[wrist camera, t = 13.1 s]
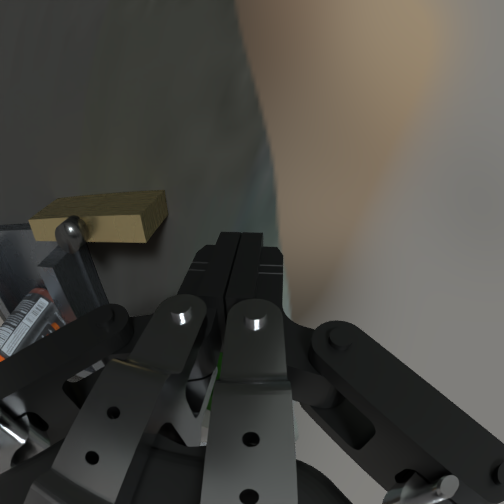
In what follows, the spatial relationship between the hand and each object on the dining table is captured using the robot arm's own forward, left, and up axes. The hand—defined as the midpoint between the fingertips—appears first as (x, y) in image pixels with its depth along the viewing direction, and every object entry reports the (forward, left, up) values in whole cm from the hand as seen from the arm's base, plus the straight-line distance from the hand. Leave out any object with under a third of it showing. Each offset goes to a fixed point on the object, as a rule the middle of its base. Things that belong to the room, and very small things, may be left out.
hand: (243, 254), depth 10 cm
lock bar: (0, -9, -4) cm, 10 cm away
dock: (+8, -17, -4) cm, 19 cm away
